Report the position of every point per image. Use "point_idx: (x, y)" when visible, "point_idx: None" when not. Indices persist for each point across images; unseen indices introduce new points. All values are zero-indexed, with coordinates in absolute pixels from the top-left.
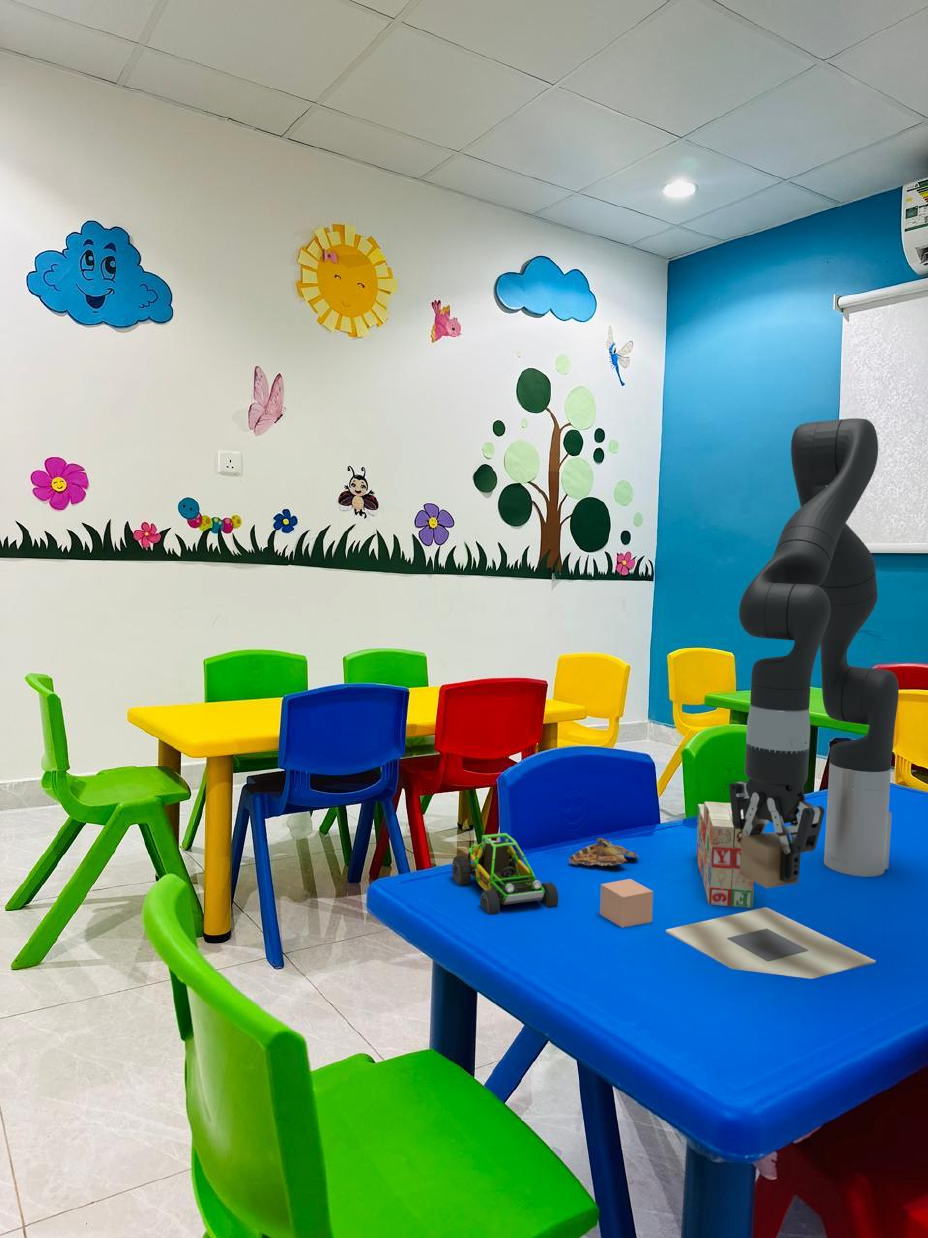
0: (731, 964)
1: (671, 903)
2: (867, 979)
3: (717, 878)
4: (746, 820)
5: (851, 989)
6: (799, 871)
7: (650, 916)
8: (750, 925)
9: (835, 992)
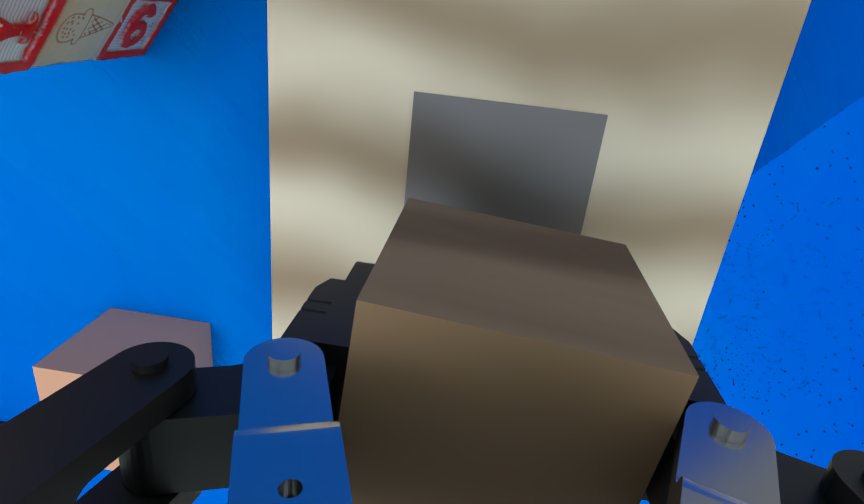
0: None
1: (83, 149)
2: (817, 68)
3: (81, 41)
4: (166, 450)
5: (802, 178)
6: (696, 354)
7: (194, 343)
8: (364, 116)
9: (772, 234)
